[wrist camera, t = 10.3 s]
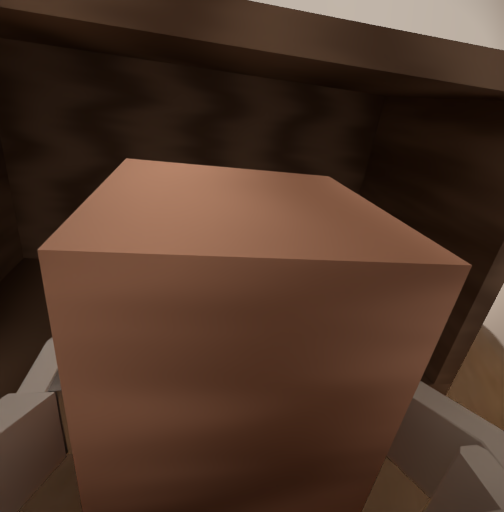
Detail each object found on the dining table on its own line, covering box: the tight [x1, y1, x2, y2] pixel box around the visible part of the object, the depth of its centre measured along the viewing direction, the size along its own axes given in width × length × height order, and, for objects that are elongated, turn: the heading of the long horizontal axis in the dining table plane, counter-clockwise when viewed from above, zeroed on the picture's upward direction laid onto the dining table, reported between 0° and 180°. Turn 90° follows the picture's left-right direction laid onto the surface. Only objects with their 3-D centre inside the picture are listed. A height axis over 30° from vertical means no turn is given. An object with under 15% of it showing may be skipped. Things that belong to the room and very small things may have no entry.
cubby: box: [0, 0, 504, 399], centre depth 20 cm, size 29×15×18 cm, turn 99°
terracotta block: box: [37, 158, 472, 512], centre depth 8 cm, size 5×5×10 cm
